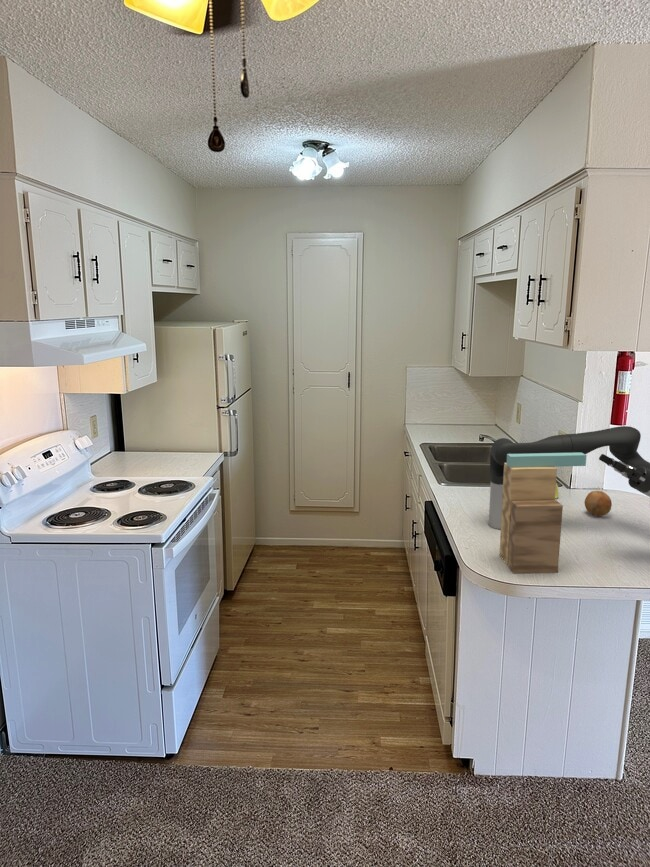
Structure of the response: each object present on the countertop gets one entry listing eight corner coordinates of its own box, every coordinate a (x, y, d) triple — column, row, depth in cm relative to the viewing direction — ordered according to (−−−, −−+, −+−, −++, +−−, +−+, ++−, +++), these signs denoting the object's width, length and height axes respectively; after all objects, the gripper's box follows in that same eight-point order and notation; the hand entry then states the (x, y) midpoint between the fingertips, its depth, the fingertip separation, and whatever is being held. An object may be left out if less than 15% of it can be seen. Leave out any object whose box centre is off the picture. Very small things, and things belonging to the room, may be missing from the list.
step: (508, 566, 191) (511, 501, 186) (551, 565, 191) (556, 500, 186) (513, 573, 186) (517, 506, 181) (557, 572, 186) (562, 505, 181)
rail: (506, 464, 190) (507, 453, 190) (580, 463, 191) (581, 452, 190) (510, 467, 187) (510, 456, 186) (585, 465, 187) (586, 455, 187)
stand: (499, 555, 199) (504, 462, 193) (540, 554, 200) (547, 461, 193) (507, 565, 192) (512, 469, 185) (550, 564, 192) (557, 468, 185)
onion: (611, 512, 238) (613, 489, 235) (610, 521, 229) (612, 496, 227) (584, 509, 242) (586, 486, 240) (582, 517, 233) (584, 492, 231)
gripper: (643, 467, 197) (602, 444, 195) (668, 479, 183) (625, 455, 181) (630, 486, 199) (590, 464, 197) (654, 499, 185) (611, 476, 183)
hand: (607, 459), depth 189 cm, fingers open, 8 cm apart
